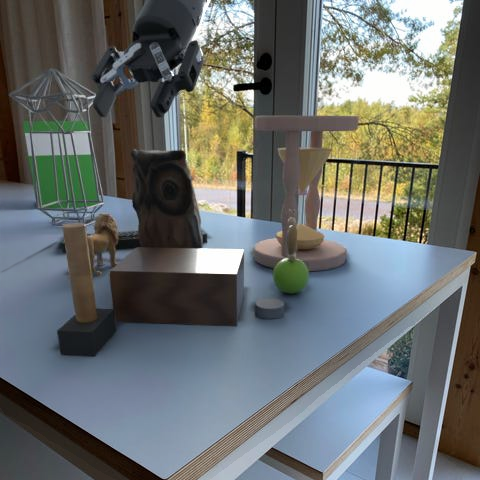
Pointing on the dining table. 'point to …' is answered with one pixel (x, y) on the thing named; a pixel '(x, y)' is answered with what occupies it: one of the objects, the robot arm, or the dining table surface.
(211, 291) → the brown wooden block
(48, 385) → the dining table surface
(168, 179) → the owl
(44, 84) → the geometric lantern
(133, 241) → the keyboard
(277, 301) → the grey short cylinder
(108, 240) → the lion figurine
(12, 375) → the dining table surface
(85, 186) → the hardback book
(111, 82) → the robot arm
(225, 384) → the dining table surface
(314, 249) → the hourglass
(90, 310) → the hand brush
